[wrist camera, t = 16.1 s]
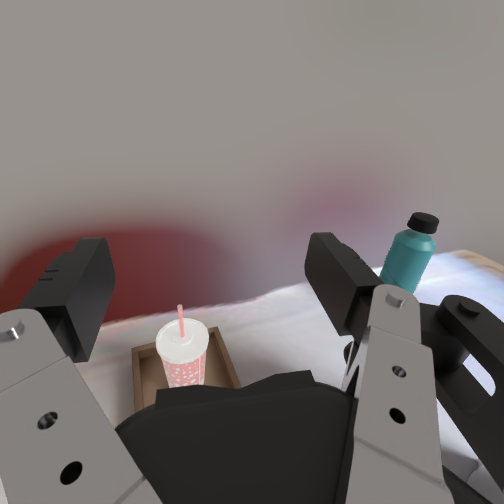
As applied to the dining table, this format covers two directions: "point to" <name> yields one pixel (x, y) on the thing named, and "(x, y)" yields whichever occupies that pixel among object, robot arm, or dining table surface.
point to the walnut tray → (154, 377)
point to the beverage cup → (183, 350)
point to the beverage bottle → (410, 253)
